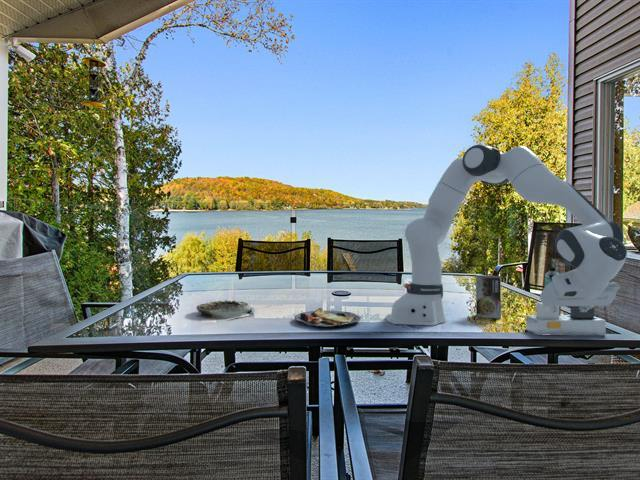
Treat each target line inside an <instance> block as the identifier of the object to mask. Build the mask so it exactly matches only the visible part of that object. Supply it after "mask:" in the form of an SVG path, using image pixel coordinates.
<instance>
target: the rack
mask: <svg viewBox="0 0 640 480" xmlns="http://www.w3.org/2000/svg"><path fill="white" fill-rule="evenodd" d="M579 307H580V306H570V314H564V315H563V314H561V315H559V319H538V318H536V314H535V315H534V314H527V315H526V316H525V317H526V318H525V319H526V320H525V322H526V325H525V326H526V327H525V329H526V330H527V331H529V332H530V333H532V334H534V335H536V334H537V335H536V336H538V335H543V334H550V335H567V336H606V329H607V328H606V326H607V325H606V322H607V320H606V319H602V318H601V317H597V316H595V307H593V308H591V309H589V310H588V311H587V312H581V310H580V309H579Z"/></svg>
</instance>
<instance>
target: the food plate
mask: <svg viewBox="0 0 640 480" xmlns="http://www.w3.org/2000/svg"><path fill="white" fill-rule="evenodd" d="M294 320H295V321H298V322H302V323H303V324H305V325H307V326H308V327H319V326H320V328H335V327H334V326H339V327H342V325H343V326H346V324H342V323H348V324H347V325H349V324H350V325H351V324H353V323H358V322H361V320H362V316H360V315H358V314H355V313H354V312H349V311H340V310H324V309H323V308H322V307H319V308H317V309H316V310H311V311H310V310H309V311H304V312H300V313H298V314H296V315H295V316H294Z"/></svg>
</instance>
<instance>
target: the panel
mask: <svg viewBox="0 0 640 480" xmlns="http://www.w3.org/2000/svg"><path fill="white" fill-rule="evenodd" d="M556 308H557V311H556V312H555V313H551V312H550V310H549V307H545V306H544V305H543V304H542V302H541V301H537V302H536V313H535V315H536V318H538V319H559V306H558V307H556Z"/></svg>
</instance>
